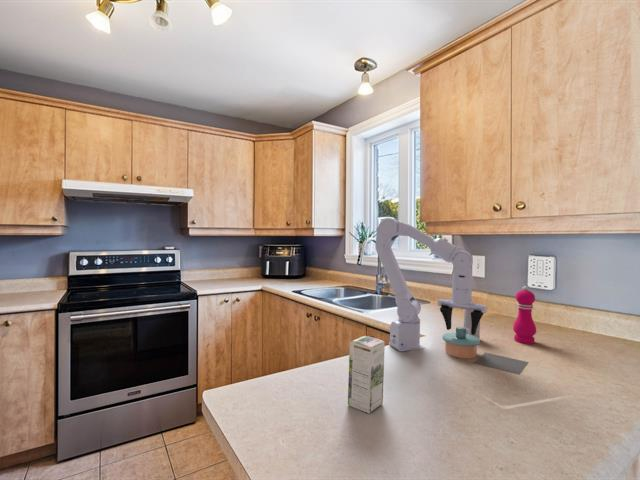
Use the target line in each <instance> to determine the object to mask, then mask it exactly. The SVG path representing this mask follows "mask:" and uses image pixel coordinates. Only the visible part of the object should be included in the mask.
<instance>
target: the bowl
mask: <svg viewBox="0 0 640 480" xmlns="http://www.w3.org/2000/svg"><path fill="white" fill-rule="evenodd" d="M477 348H478V345H476V346H461V345H455V344H451V343H448V342H446V341H444V351H445V353H446V354H447V355H449V356H451V357H455V358H459V359H473V358H476V357H477V355H478V349H477Z"/></svg>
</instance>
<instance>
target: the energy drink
mask: <svg viewBox="0 0 640 480" xmlns="http://www.w3.org/2000/svg"><path fill="white" fill-rule="evenodd" d="M465 308H467V307H465ZM471 312H473V311H472V310H466V309H463V328H466V334H468V335H472V334H471V327H472V321H471ZM480 330H481V320H480V321H479V323H478V326H477V330H476V334H474V335H472V336H475V337H477V338H479V339H480V336H481V335H480V333H481V331H480ZM480 340H481V339H480Z"/></svg>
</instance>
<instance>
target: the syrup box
mask: <svg viewBox="0 0 640 480" xmlns="http://www.w3.org/2000/svg"><path fill="white" fill-rule="evenodd" d="M385 343H386V342H385V340H381V339H379V338H376V337H373V336H367V335H363V336H360V337H358V338H356V339H353V340H351V341H349V354H348V355H349V357H348V389H347V393H348V394H347V405H348V406H349V407H351V408H352V409H356V410H358V411H361V412H364V413H366V412H367V414H369V413H370V414H371V413H373V412H374V411H375V410H377V409H378V408H379V407H380V406H382V405H383V403H384V402H383V401H384V374H385V372H384V371H385Z"/></svg>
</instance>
